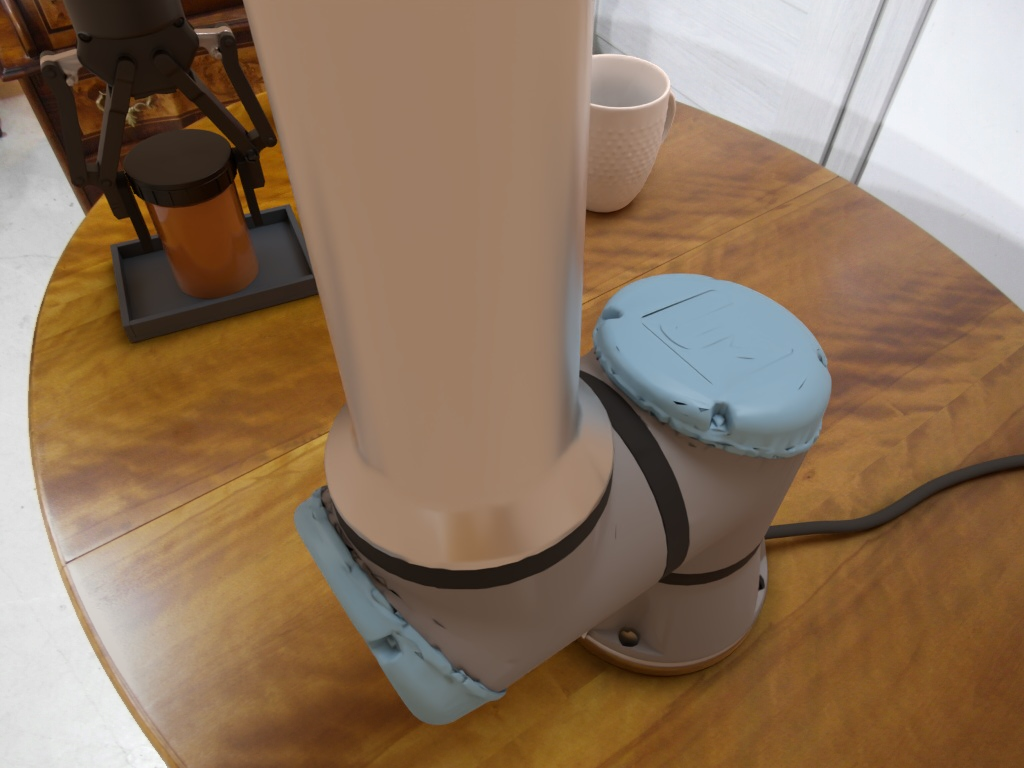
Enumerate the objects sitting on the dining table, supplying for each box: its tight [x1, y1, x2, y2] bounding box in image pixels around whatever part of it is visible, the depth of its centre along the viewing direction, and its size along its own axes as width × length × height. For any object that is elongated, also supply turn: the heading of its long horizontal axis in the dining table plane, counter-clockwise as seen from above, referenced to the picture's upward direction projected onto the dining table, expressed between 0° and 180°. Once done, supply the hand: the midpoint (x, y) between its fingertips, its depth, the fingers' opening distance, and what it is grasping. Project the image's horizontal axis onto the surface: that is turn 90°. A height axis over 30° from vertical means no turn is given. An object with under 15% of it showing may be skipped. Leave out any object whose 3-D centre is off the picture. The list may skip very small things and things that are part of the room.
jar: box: [143, 179, 259, 299], centre depth 69 cm, size 8×8×12 cm
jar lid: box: [122, 128, 238, 206], centre depth 65 cm, size 9×9×2 cm
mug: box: [586, 53, 677, 213], centre depth 80 cm, size 15×11×13 cm
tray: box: [109, 203, 319, 344], centre depth 73 cm, size 17×12×2 cm
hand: (202, 230), depth 70 cm, fingers open, 9 cm apart
